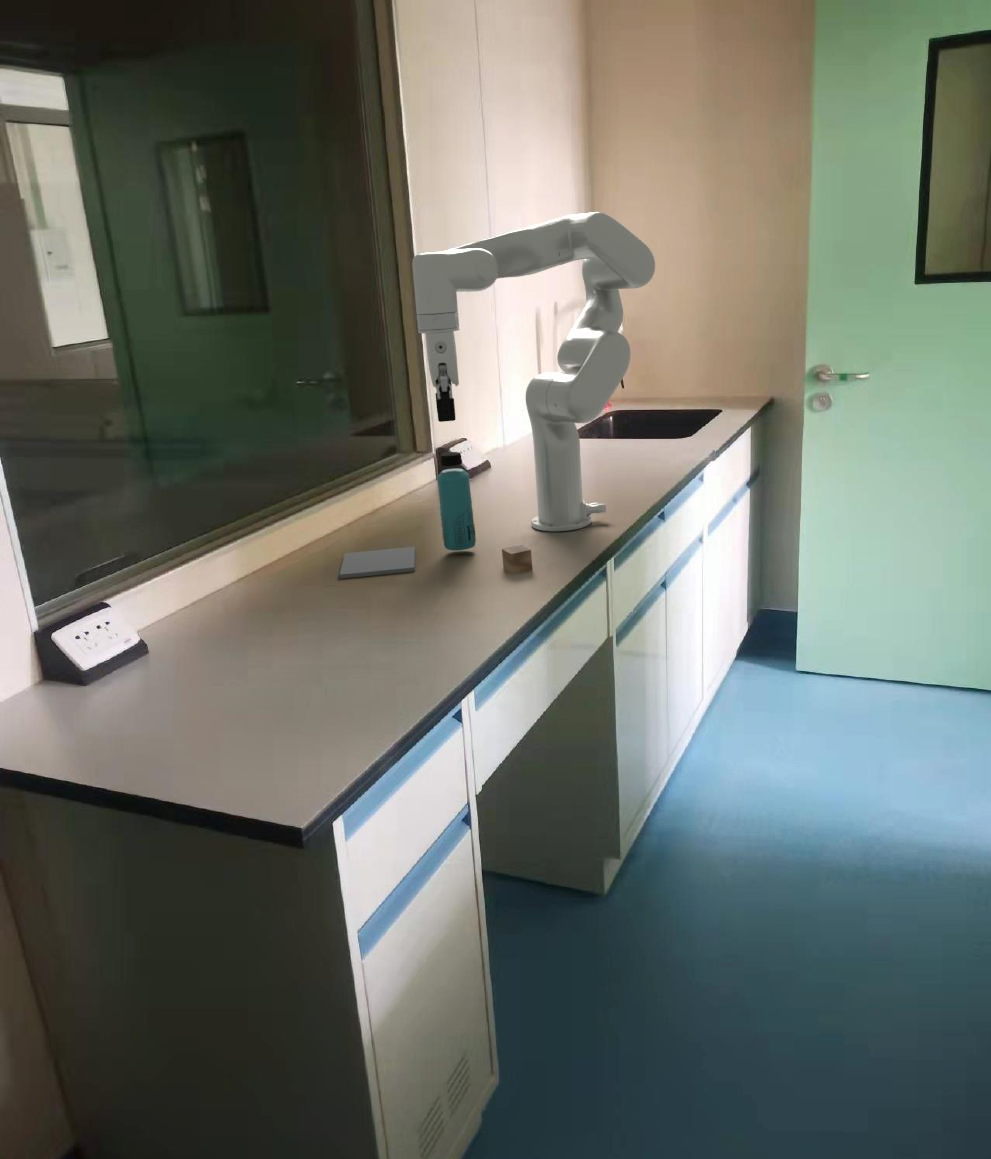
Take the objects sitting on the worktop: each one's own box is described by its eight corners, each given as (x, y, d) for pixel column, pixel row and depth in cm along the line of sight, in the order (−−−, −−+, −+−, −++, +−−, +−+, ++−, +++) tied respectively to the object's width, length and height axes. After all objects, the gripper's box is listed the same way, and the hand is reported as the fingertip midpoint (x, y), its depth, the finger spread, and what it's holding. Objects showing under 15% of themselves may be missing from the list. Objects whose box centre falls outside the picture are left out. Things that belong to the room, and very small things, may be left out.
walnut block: (522, 565, 184) (521, 544, 183) (532, 570, 180) (530, 549, 179) (503, 569, 182) (501, 548, 181) (512, 574, 179) (511, 553, 178)
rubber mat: (414, 550, 199) (414, 546, 198) (414, 571, 185) (414, 567, 185) (345, 557, 198) (344, 553, 198) (340, 578, 185) (339, 574, 184)
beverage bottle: (473, 557, 190) (464, 455, 184) (440, 558, 192) (429, 457, 186) (480, 547, 197) (471, 448, 190) (448, 548, 198) (438, 450, 192)
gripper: (460, 324, 172) (468, 422, 178) (456, 319, 189) (464, 409, 194) (417, 327, 172) (426, 425, 177) (417, 322, 188) (425, 412, 194)
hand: (446, 417), depth 186 cm, fingers open, 9 cm apart
